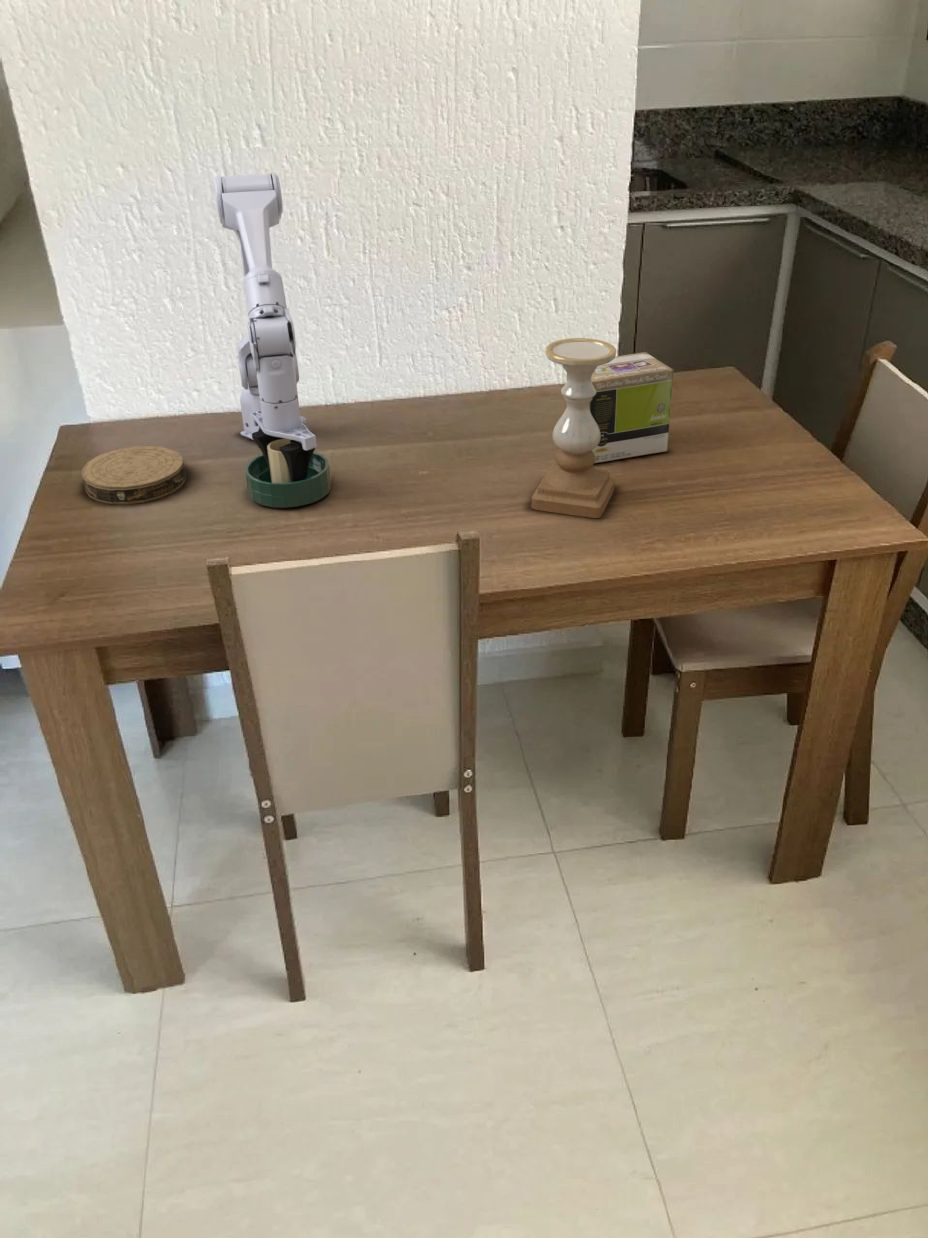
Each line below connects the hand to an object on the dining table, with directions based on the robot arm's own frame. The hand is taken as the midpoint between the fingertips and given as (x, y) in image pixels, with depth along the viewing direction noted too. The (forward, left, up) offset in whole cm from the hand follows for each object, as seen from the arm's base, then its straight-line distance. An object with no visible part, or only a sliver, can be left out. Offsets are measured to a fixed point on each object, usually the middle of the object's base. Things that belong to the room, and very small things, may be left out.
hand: (288, 478), depth 162 cm
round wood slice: (-22, -14, -2) cm, 26 cm away
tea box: (+30, +47, -2) cm, 56 cm away
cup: (0, 0, -2) cm, 2 cm away
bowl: (0, 0, -2) cm, 2 cm away
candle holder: (+36, +27, -2) cm, 45 cm away
